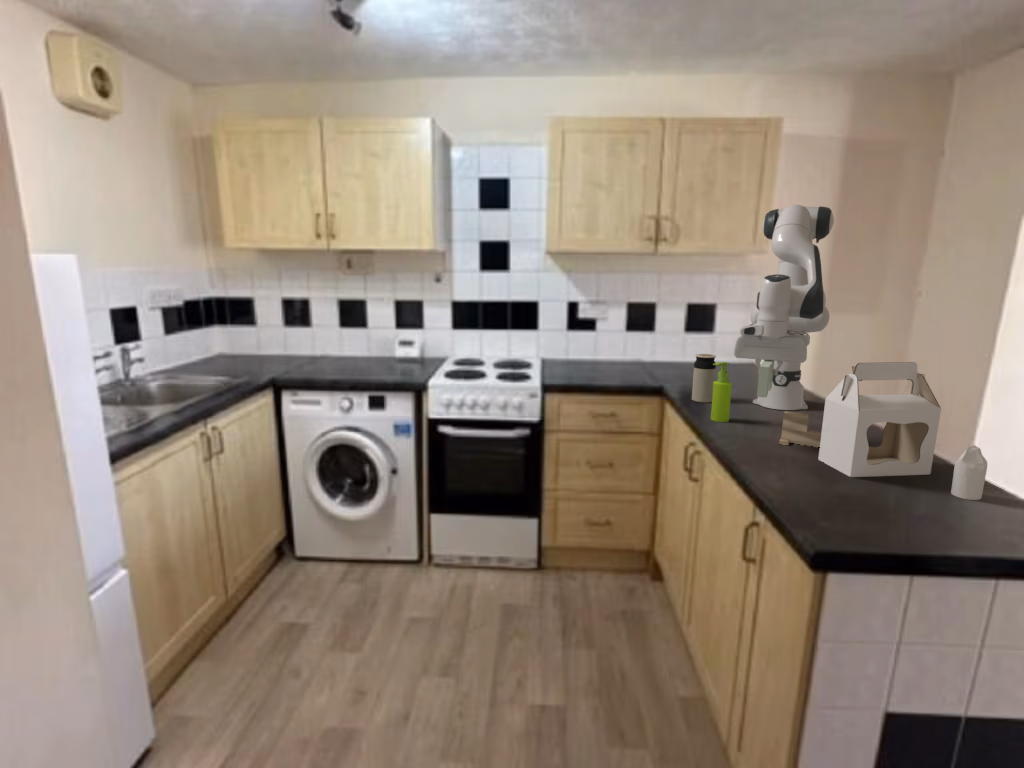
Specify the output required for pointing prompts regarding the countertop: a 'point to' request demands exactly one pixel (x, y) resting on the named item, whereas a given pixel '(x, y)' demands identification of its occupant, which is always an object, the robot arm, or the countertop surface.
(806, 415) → the wooden peg bench
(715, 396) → the soap dispenser
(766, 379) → the grey-green rectangular slab
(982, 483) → the white plastic bottle
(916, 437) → the gable box
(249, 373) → the countertop surface
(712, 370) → the travel mug
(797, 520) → the countertop surface
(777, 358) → the robot arm
